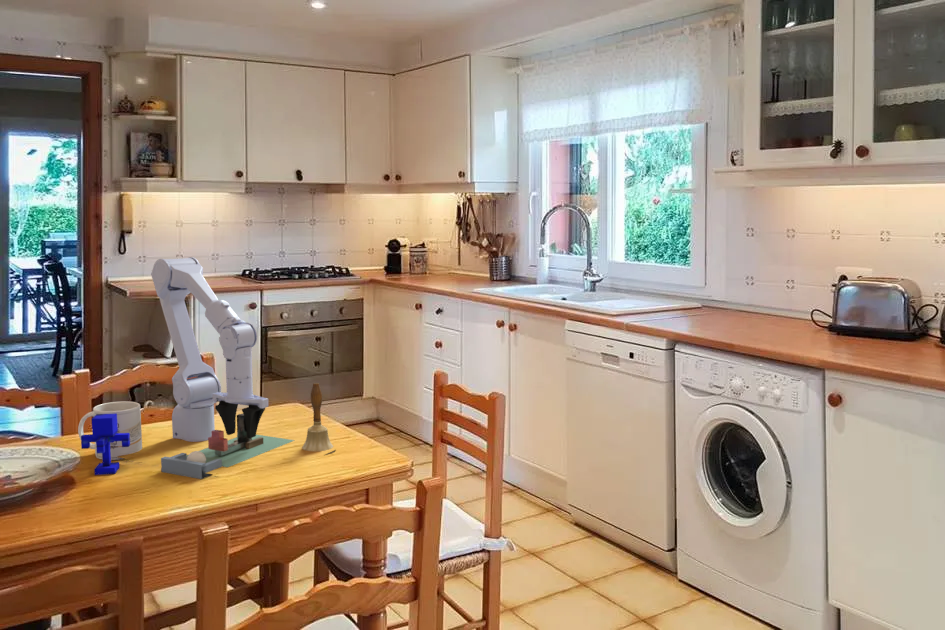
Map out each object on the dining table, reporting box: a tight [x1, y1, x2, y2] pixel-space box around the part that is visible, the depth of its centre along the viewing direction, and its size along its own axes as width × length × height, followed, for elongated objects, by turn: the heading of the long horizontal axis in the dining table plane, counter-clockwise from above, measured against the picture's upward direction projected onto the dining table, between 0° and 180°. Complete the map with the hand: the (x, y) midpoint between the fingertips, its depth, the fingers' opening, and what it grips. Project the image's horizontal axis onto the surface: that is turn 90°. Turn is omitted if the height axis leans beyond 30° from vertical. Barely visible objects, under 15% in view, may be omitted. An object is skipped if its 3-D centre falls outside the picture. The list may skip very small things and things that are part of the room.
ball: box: [186, 450, 206, 463], centre depth 179 cm, size 4×4×4 cm
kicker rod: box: [207, 413, 251, 456], centre depth 189 cm, size 4×11×7 cm, turn 155°
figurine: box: [80, 413, 130, 476], centre depth 177 cm, size 8×8×12 cm
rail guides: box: [234, 437, 263, 449], centre depth 194 cm, size 4×5×1 cm
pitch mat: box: [187, 433, 295, 468], centre depth 191 cm, size 14×23×1 cm, turn 155°
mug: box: [77, 400, 143, 461], centre depth 190 cm, size 10×12×11 cm
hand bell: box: [301, 382, 337, 456], centre depth 192 cm, size 8×8×16 cm
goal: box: [160, 452, 223, 480], centre depth 178 cm, size 11×6×3 cm, turn 65°
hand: (241, 435), depth 191 cm, fingers open, 5 cm apart
